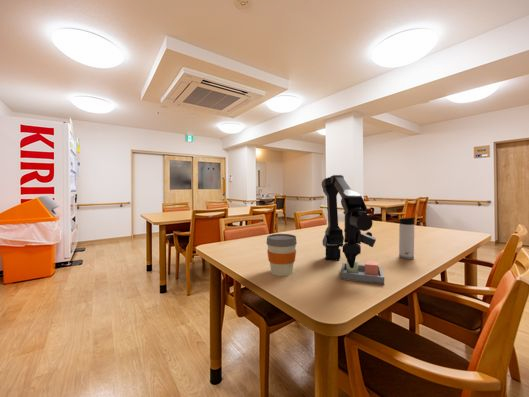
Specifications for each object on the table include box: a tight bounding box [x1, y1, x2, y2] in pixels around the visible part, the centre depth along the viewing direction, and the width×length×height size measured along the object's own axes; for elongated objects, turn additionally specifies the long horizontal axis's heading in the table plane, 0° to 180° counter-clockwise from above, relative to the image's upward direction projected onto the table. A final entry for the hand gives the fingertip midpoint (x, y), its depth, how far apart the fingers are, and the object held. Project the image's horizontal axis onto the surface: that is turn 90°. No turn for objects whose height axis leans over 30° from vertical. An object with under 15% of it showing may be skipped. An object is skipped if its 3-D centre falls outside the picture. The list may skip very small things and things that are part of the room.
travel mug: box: [398, 217, 416, 260], centre depth 116 cm, size 6×7×20 cm
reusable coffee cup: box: [266, 233, 297, 277], centre depth 99 cm, size 13×12×15 cm
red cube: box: [364, 260, 379, 276], centre depth 92 cm, size 4×4×5 cm
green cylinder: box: [346, 259, 359, 274], centre depth 94 cm, size 4×4×5 cm
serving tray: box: [340, 262, 385, 285], centre depth 93 cm, size 15×12×3 cm
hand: (352, 265), depth 94 cm, fingers open, 7 cm apart
